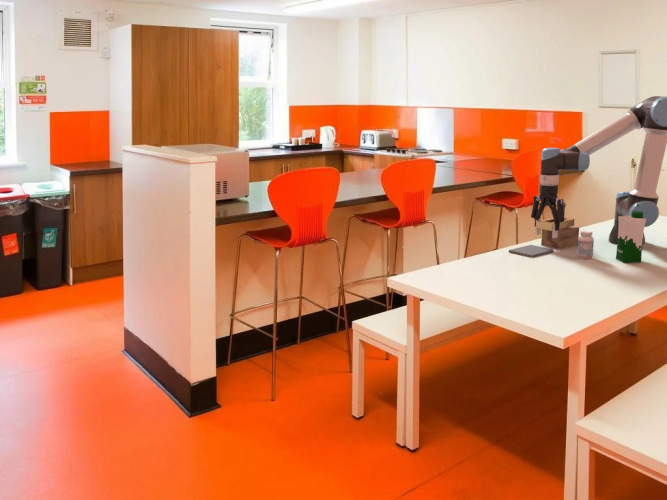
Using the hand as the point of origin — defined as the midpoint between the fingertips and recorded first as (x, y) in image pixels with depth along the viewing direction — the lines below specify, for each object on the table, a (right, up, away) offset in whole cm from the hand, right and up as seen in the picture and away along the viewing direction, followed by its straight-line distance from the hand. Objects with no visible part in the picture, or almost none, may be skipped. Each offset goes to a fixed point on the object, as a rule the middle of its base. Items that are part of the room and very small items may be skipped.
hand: (546, 235), depth 293 cm
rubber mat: (-8, -7, -4) cm, 11 cm away
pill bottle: (+11, -10, -15) cm, 21 cm away
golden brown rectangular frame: (+5, +4, +3) cm, 7 cm away
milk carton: (+27, -11, -21) cm, 35 cm away
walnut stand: (+8, -4, +7) cm, 12 cm away
